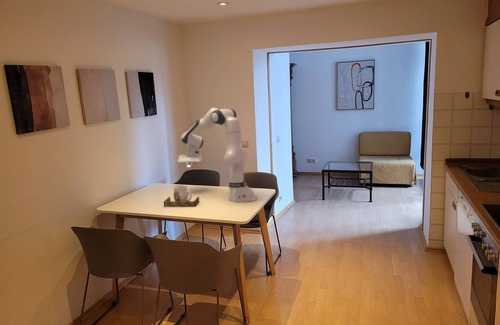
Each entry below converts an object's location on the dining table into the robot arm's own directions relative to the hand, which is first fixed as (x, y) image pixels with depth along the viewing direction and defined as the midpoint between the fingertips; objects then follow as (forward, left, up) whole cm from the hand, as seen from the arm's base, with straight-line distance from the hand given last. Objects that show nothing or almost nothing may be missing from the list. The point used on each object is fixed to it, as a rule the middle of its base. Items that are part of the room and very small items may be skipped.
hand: (188, 167), depth 312 cm
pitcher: (0, +25, -23) cm, 34 cm away
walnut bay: (0, +26, -23) cm, 34 cm away
